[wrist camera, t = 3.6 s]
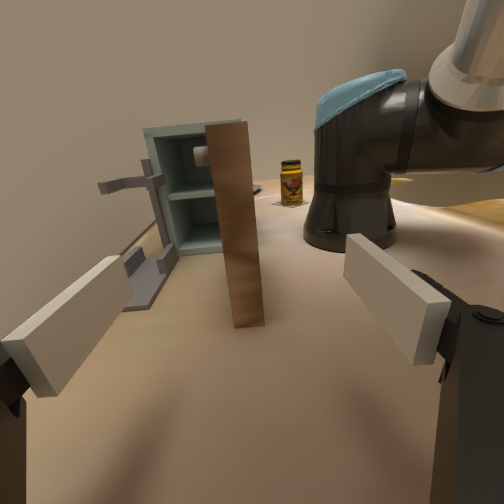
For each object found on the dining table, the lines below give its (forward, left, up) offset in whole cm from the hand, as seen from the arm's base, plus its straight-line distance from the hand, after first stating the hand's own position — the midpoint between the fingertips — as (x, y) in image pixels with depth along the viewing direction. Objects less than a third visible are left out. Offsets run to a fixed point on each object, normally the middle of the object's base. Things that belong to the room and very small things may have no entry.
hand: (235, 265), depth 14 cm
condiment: (-13, -58, -10) cm, 60 cm away
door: (0, -13, -10) cm, 16 cm away
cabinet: (+9, -26, -10) cm, 29 cm away
